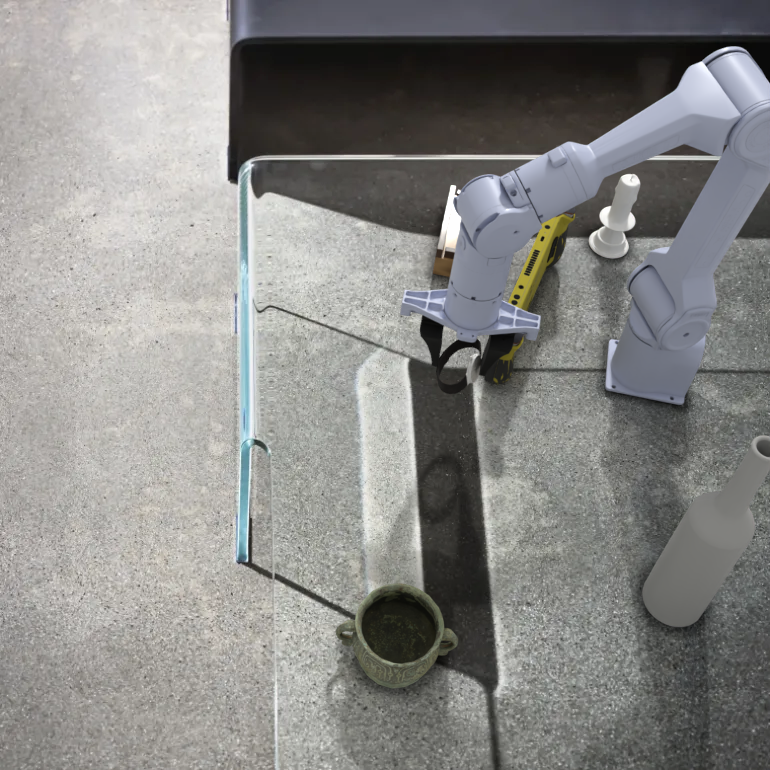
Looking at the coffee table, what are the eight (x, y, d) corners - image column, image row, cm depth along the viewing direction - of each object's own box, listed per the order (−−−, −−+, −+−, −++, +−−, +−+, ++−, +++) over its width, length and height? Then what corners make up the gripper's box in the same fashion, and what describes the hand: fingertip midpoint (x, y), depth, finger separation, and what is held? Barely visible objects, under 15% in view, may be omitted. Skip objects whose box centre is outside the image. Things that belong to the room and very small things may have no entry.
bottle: (713, 590, 123) (815, 439, 101) (690, 638, 119) (791, 492, 97) (656, 560, 124) (744, 404, 102) (632, 606, 121) (718, 455, 99)
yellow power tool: (532, 247, 152) (548, 190, 144) (563, 257, 151) (580, 201, 143) (471, 386, 137) (484, 331, 129) (505, 398, 136) (520, 344, 128)
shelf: (505, 221, 154) (511, 196, 151) (494, 285, 147) (500, 261, 143) (446, 210, 155) (450, 185, 151) (432, 273, 147) (436, 248, 144)
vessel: (453, 617, 118) (462, 588, 113) (452, 699, 113) (461, 672, 108) (336, 606, 118) (340, 576, 113) (329, 688, 112) (333, 661, 107)
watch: (464, 405, 126) (468, 384, 123) (424, 388, 127) (428, 368, 124) (489, 357, 131) (495, 336, 128) (451, 341, 132) (456, 320, 129)
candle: (600, 224, 156) (623, 156, 146) (635, 242, 154) (660, 175, 145) (581, 246, 153) (603, 177, 143) (616, 265, 151) (641, 197, 142)
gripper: (401, 295, 115) (388, 379, 126) (545, 323, 114) (520, 405, 125) (412, 245, 119) (399, 331, 130) (551, 272, 119) (526, 355, 129)
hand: (459, 364), depth 128 cm, fingers closed on watch, 5 cm apart
